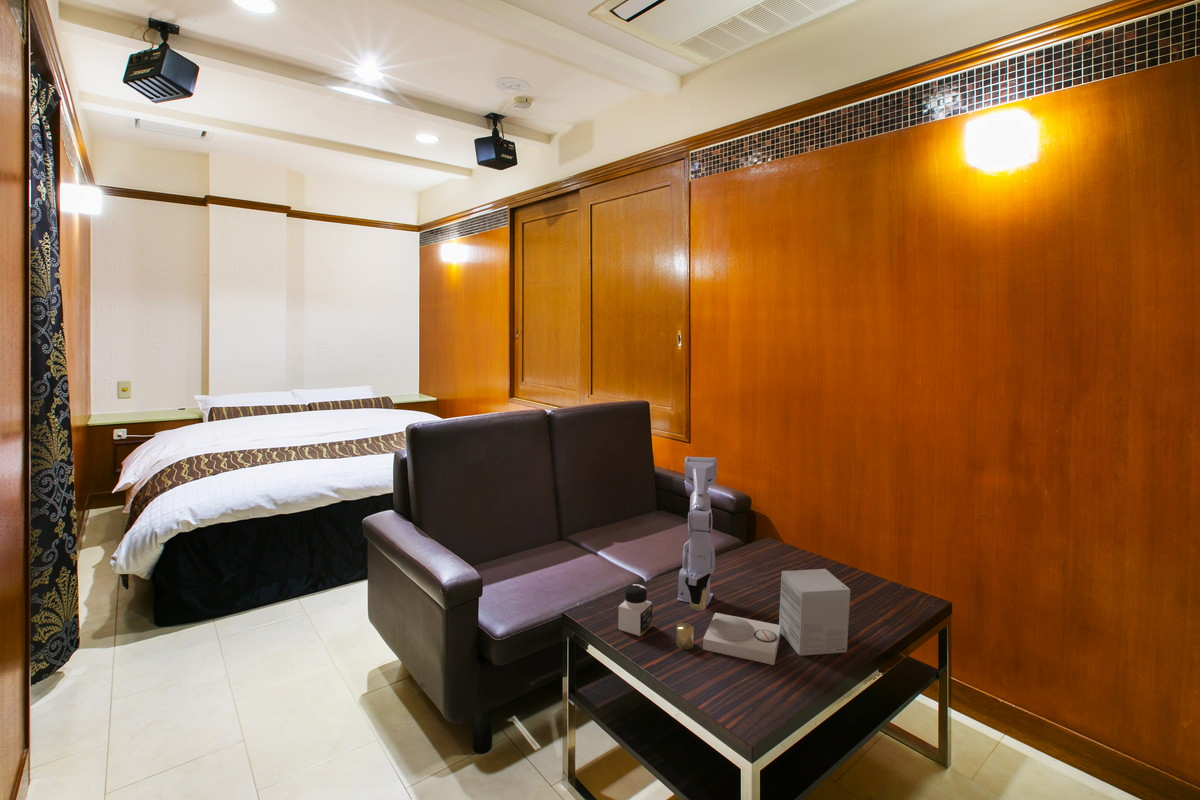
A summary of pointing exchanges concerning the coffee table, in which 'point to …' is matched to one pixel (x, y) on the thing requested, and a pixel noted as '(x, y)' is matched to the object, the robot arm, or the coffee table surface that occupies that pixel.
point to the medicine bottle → (635, 611)
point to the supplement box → (814, 611)
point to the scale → (743, 638)
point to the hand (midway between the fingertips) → (698, 599)
